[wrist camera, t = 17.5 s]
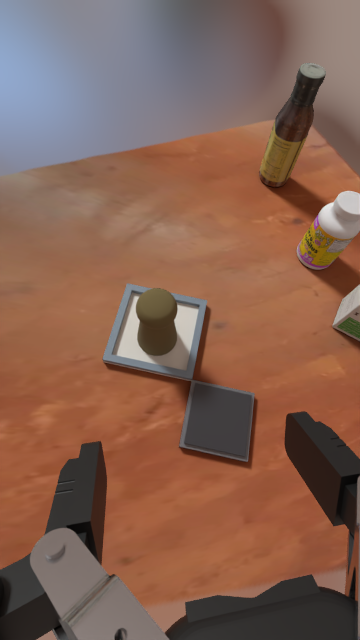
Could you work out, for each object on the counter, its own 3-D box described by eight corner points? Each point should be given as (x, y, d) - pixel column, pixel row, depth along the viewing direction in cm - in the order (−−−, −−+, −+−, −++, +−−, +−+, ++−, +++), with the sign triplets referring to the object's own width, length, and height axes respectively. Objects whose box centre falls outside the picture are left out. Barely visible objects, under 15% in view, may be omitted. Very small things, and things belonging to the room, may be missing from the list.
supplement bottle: (291, 242, 59) (325, 185, 47) (325, 240, 59) (366, 184, 48) (300, 272, 56) (339, 220, 44) (336, 270, 57) (383, 218, 45)
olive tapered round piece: (185, 336, 48) (192, 301, 38) (157, 364, 46) (156, 334, 36) (157, 311, 50) (156, 271, 40) (128, 337, 48) (120, 302, 38)
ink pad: (178, 447, 42) (179, 446, 41) (191, 381, 46) (192, 378, 45) (245, 461, 42) (248, 461, 40) (252, 394, 46) (255, 392, 44)
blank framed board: (103, 362, 46) (102, 359, 45) (127, 287, 52) (127, 283, 51) (191, 381, 46) (192, 379, 45) (205, 304, 52) (207, 300, 50)
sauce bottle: (274, 164, 68) (318, 53, 50) (293, 183, 66) (345, 75, 48) (250, 173, 66) (286, 62, 48) (268, 193, 64) (312, 84, 46)
